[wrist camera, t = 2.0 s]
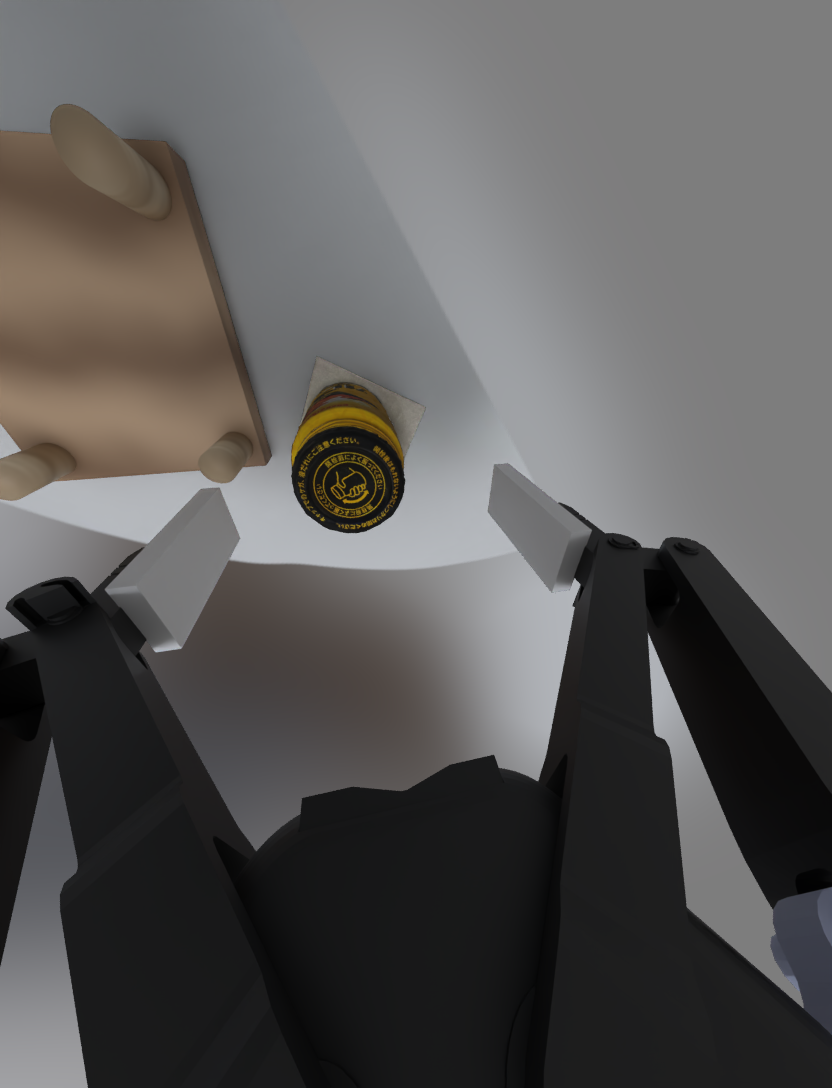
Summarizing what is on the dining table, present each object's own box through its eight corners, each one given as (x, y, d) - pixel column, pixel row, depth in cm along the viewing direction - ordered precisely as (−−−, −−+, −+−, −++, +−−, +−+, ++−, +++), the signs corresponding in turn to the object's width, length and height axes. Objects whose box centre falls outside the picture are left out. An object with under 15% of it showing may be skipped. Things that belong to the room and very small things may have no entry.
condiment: (316, 355, 21) (290, 379, 11) (425, 407, 24) (478, 459, 14) (293, 454, 24) (257, 537, 15) (391, 487, 27) (415, 573, 18)
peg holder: (-168, 141, 13) (-464, 33, 8) (184, 161, 15) (109, 83, 10) (67, 470, 22) (-11, 510, 17) (271, 456, 24) (252, 488, 19)
